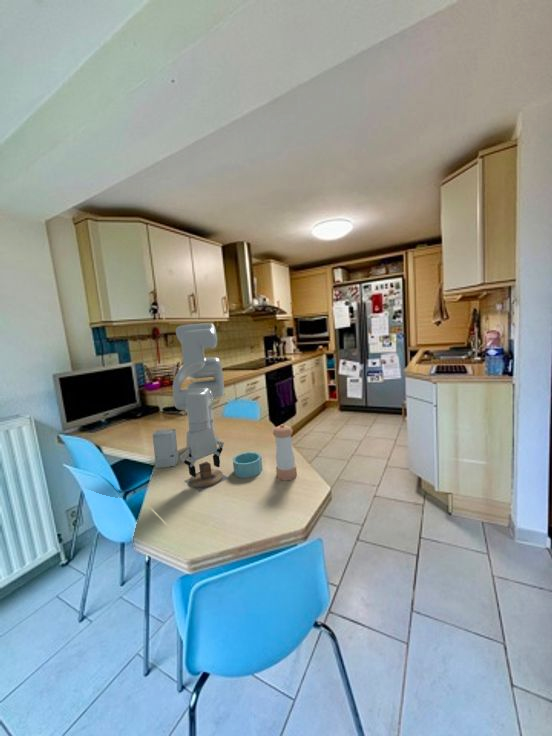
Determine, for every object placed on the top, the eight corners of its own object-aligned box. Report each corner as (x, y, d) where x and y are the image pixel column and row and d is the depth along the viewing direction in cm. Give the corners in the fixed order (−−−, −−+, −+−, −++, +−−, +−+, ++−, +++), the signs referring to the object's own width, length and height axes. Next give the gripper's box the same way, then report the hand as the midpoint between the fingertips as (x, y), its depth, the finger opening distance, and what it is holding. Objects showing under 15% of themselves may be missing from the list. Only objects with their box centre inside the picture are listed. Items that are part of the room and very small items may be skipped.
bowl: (228, 472, 117) (227, 459, 116) (250, 463, 124) (249, 450, 123) (245, 481, 109) (243, 466, 108) (268, 470, 116) (266, 456, 115)
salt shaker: (273, 474, 112) (268, 424, 110) (291, 469, 115) (287, 420, 113) (281, 482, 106) (276, 429, 103) (300, 476, 109) (295, 424, 106)
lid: (184, 480, 113) (182, 465, 112) (212, 469, 121) (210, 454, 120) (199, 491, 104) (197, 475, 103) (229, 478, 112) (227, 462, 111)
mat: (184, 481, 113) (184, 480, 113) (212, 469, 121) (212, 469, 121) (199, 492, 104) (199, 491, 104) (229, 479, 112) (229, 478, 112)
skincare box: (155, 468, 127) (150, 434, 125) (160, 462, 133) (156, 429, 131) (176, 466, 127) (171, 432, 125) (180, 460, 133) (175, 427, 131)
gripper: (215, 418, 118) (220, 460, 120) (172, 430, 107) (178, 477, 109) (225, 421, 113) (230, 465, 114) (181, 434, 101) (188, 483, 103)
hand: (205, 471), depth 111 cm, fingers open, 9 cm apart
